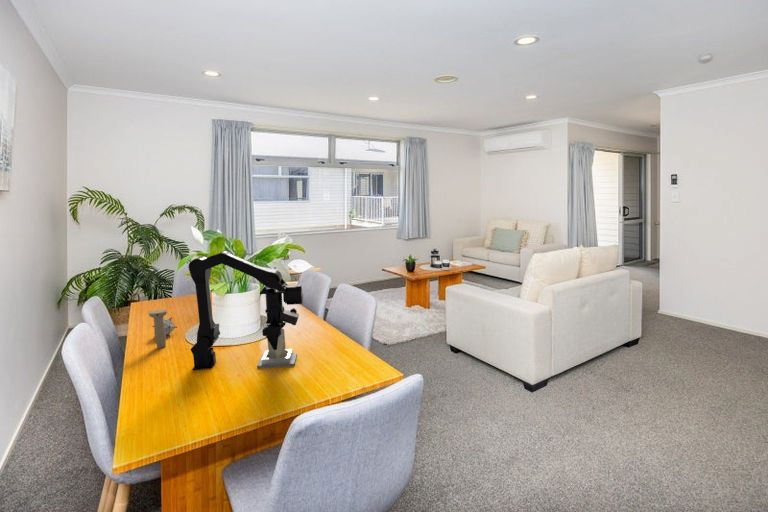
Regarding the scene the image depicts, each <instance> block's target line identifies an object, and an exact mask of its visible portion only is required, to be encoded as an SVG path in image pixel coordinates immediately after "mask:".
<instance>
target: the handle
mask: <svg viewBox="0 0 768 512" xmlns="http://www.w3.org/2000/svg"><path fill="white" fill-rule="evenodd" d="M167 313H168V311H167V309H157V310H152V311H149V312H148V316H149V317H150V318H153V323H154V324H153V326H154V327H153V328H154V329H153V330H154V334H153V335H154V340H155V344H156V348H157V349H163V348H165V347H166V342H167V335H166V333H165V327H164V321H163V319H164V316H166V315H167Z"/></svg>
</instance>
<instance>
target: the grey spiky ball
mask: <svg viewBox="0 0 768 512" xmlns="http://www.w3.org/2000/svg"><path fill="white" fill-rule="evenodd" d="M172 318H173V317H170V318H163V321H164V327H165V333H166V336H168V337H170V334H171V333H172V332H173V331H174V330H175V329H177V328H178V326H176V325H175V323H174V322H173V320H172ZM151 327H153V328H154V325H152V326H151Z"/></svg>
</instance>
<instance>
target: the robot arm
mask: <svg viewBox="0 0 768 512" xmlns="http://www.w3.org/2000/svg"><path fill="white" fill-rule="evenodd" d="M219 265H225V266H227V267H229V268H232V269H234V270H236V271H239V272H241V273H243V274H245V275H247V276H250V277H252V278H253V279H256V281H258V283H260V284H262V285H263V286H264V287H263V288H262V289H261V290H260V291H259V295H265V306H266V308H265V313H266V320H265V326H264V327H263V328H262V332H261V333H262V337H265V338H266V339H267V342H268V341H269V342H270V344H271V346H272V348H273V350H277V345H278V337H279V336H280V335H281V334H282V332H283V331H282V329H284V327H285V326H286V324H291V325H292V326H296V325H297V322H298V321H299V317H300V314H299V313H298V312H297V309H296V308H295V307H294V308H293V307H292V308H291V309H290V310H286V309H285V306H284V305H283V303H284V304H286V305H287V306H289V305H292V306H293V305H303V304H304V292H303V288H302V287H303V285H302V284H301V285H290V286H289V285H288V283H286V281H285V280H284V279H283V276H282V273H281V272H280V270H277V269H274V268H271V267H265V266H259V265H257V264H255V263H252V262H250V261H248V260H246V259H243V258H241V257H238V256H236V255H234V254H232V253H230V252H229V251H225V250H223V251H220V252H218V253H215V254H213V255H209V256H204V255H203V256H198V257H196V258H194V259H192V260H191V261H190V262H189V263H188V270H189V274H190V277H191V279H192V281H193V283H194V285H195V286H194V287H195V295H196V303H197V311H198V312H197V313H198V321H199V325H198V328H197V333H196V335H197V336H196V343H195V344H194V345H193V346H192V347H191V348H190V351H191V352H190V353H191V354H192V358H193V365H194V366H193V367H192V370H193V371H196V370H210V369H213V367H214V365H216V363H217V357H216V351H214V347H213V346H214V344H215V343H216V342H217V340H218V338H219V336H220V334H221V331H220V323H215V321H214V319H213V311H212V302H211V301H212V299H211V291H210V290H211V289H210V277H211V274H212V268H214V267H216V266H219Z"/></svg>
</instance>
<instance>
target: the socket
mask: <svg viewBox="0 0 768 512" xmlns="http://www.w3.org/2000/svg"><path fill="white" fill-rule="evenodd" d="M297 356H298V353H297V352H294V353H293V348H286V357H274V358H269V352H268V349H267V350H264V353H263V354H262V355H261V356H260V359H259V361H258V363H257V366H256V368H257V369H269V368H270V369H272V368H285V367H295V365H296V362H297Z"/></svg>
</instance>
